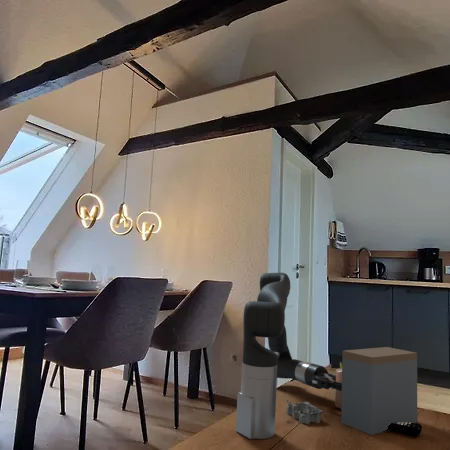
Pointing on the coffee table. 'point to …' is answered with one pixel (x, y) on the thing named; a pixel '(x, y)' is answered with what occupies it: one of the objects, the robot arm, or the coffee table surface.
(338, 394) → the pinkish-brown cylinder
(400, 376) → the counter
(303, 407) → the egg carton
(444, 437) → the coffee table surface
